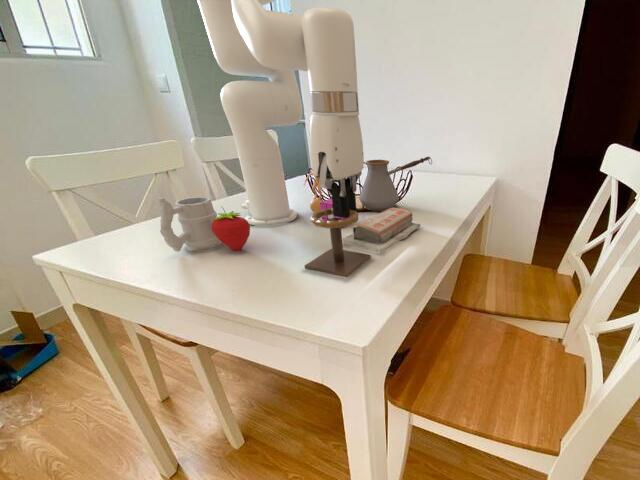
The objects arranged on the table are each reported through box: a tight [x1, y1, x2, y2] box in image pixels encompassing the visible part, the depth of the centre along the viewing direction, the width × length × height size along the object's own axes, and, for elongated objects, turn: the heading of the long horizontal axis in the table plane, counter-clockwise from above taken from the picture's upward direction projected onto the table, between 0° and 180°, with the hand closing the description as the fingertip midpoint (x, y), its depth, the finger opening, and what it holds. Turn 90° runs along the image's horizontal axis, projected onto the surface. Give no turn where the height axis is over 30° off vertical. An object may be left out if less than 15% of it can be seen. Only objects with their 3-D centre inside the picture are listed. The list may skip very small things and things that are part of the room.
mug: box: [157, 196, 223, 253], centre depth 70 cm, size 8×12×12 cm, turn 158°
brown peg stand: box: [304, 218, 372, 278], centre depth 64 cm, size 9×9×9 cm
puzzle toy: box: [320, 197, 351, 229], centre depth 86 cm, size 6×6×6 cm
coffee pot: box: [358, 156, 433, 212], centre depth 95 cm, size 21×12×15 cm, turn 69°
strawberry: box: [212, 205, 251, 252], centre depth 69 cm, size 6×8×10 cm
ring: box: [309, 208, 359, 229], centre depth 61 cm, size 8×8×1 cm
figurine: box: [303, 171, 324, 214], centre depth 93 cm, size 8×6×12 cm
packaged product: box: [342, 207, 421, 253], centre depth 78 cm, size 18×5×10 cm
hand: (345, 214), depth 64 cm, fingers closed on ring, 1 cm apart
